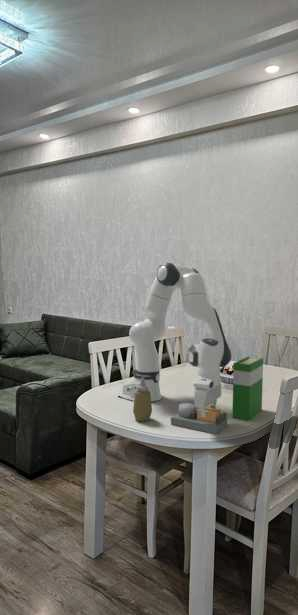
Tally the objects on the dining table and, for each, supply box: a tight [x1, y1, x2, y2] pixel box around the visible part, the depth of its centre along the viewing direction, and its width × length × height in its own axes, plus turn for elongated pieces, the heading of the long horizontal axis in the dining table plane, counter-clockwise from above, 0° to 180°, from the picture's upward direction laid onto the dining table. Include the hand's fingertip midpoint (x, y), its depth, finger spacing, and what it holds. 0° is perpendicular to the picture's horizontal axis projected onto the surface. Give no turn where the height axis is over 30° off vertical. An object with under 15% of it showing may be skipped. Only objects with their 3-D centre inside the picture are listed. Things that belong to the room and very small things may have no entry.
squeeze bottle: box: [132, 378, 153, 422], centre depth 170 cm, size 8×8×18 cm
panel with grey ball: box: [170, 402, 229, 435], centre depth 165 cm, size 20×12×7 cm, turn 60°
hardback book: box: [231, 356, 264, 422], centre depth 179 cm, size 18×7×24 cm, turn 147°
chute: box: [196, 406, 221, 423], centre depth 163 cm, size 8×5×4 cm, turn 60°
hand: (208, 413), depth 163 cm, fingers open, 8 cm apart
